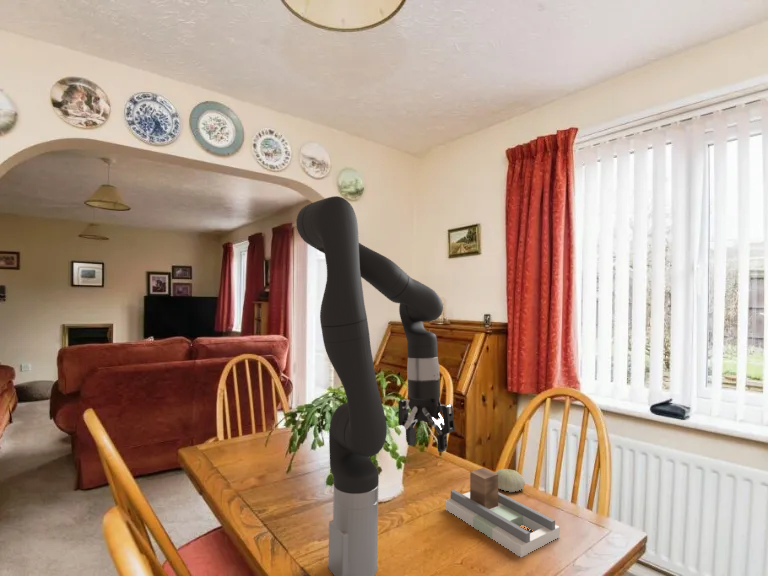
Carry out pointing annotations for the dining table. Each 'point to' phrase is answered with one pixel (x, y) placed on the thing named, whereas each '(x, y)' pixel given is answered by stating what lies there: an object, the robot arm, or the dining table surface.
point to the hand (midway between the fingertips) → (426, 447)
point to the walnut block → (484, 487)
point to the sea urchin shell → (510, 480)
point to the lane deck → (505, 522)
